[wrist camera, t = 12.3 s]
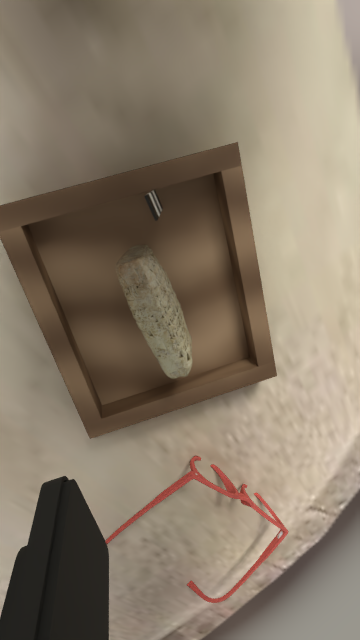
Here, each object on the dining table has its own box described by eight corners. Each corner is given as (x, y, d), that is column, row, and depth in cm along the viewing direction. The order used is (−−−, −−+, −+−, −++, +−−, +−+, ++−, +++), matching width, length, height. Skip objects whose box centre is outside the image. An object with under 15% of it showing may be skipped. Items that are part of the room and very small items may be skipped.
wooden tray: (2, 208, 24) (-13, 208, 21) (223, 148, 26) (237, 142, 23) (92, 416, 31) (89, 438, 28) (261, 360, 33) (276, 375, 30)
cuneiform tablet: (154, 189, 25) (213, 325, 29) (100, 214, 26) (166, 344, 30) (146, 195, 18) (224, 369, 23) (74, 228, 19) (163, 392, 23)
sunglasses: (283, 498, 40) (305, 537, 36) (194, 585, 42) (204, 632, 38) (177, 430, 34) (187, 466, 30) (79, 535, 36) (74, 584, 32)
